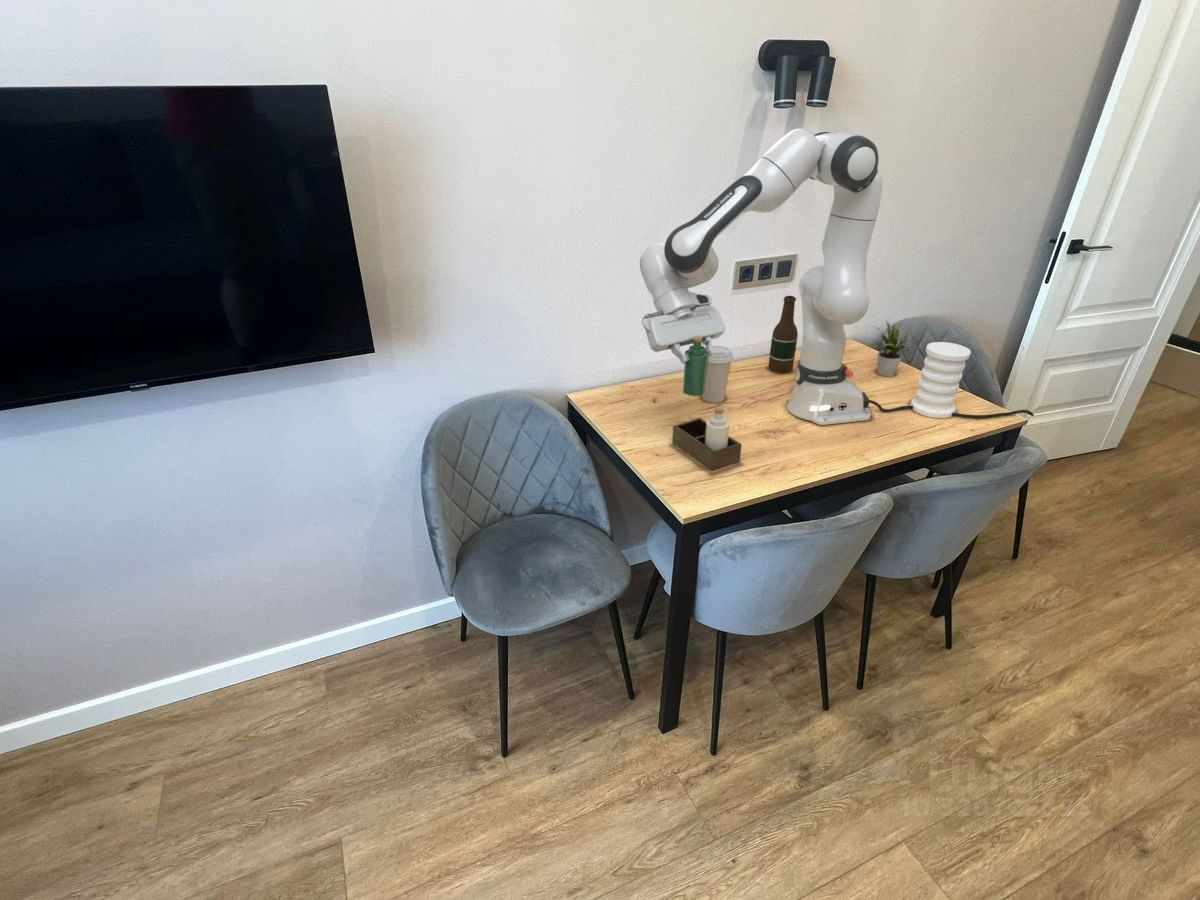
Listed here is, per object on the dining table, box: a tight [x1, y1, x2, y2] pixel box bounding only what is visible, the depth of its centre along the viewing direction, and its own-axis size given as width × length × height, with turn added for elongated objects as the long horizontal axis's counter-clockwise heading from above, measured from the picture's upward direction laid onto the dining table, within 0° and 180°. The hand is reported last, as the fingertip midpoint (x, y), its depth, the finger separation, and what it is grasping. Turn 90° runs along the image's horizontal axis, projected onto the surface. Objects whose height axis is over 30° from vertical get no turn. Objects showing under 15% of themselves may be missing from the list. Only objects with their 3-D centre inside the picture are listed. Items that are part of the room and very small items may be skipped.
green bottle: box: [682, 336, 709, 397], centre depth 153 cm, size 6×6×14 cm
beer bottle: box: [768, 295, 799, 375], centre depth 203 cm, size 8×8×24 cm
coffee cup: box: [701, 345, 734, 404], centre depth 187 cm, size 10×10×15 cm
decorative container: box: [909, 341, 972, 419], centre depth 178 cm, size 12×12×18 cm
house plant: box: [870, 320, 918, 377], centre depth 202 cm, size 14×14×16 cm
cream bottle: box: [705, 406, 731, 451], centre depth 155 cm, size 6×6×14 cm
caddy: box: [672, 417, 743, 472], centre depth 161 cm, size 16×9×6 cm, turn 30°
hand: (698, 359), depth 151 cm, fingers closed on green bottle, 5 cm apart
